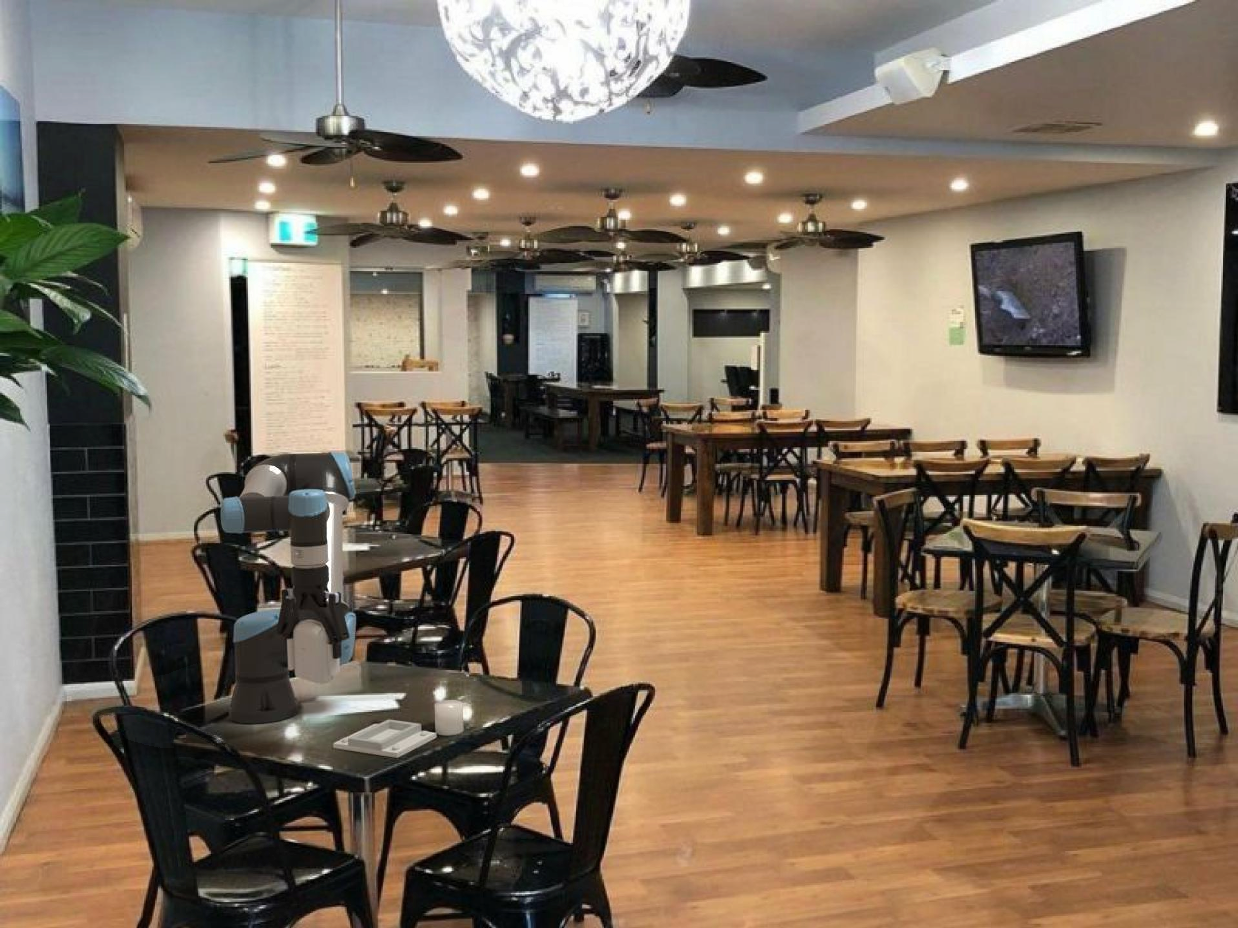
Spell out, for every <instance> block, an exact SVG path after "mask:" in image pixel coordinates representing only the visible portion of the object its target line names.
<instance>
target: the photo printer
mask: <svg viewBox="0 0 1238 928" xmlns="http://www.w3.org/2000/svg"><path fill="white" fill-rule="evenodd" d="M329 642H330V640H329V638H328V635H327V633H326V631H325V628H324V627H323V625H322V623H320V622H318V621H315V620H305V621H300V622H299V623H297V625H296V626H295V627H294V630H293V643H294V668H295V669H294V675H295V677H297V678H299V679H302V680H305V681H309V682H311V683H315V684H319V685H324V684H328V683H331V682H332V681H333V680H334V675H328V651H327V644H329Z"/></svg>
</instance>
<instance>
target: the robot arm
mask: <svg viewBox="0 0 1238 928" xmlns="http://www.w3.org/2000/svg"><path fill="white" fill-rule="evenodd" d="M355 493H356V492H355V486H354V481H353V473H352V466H351V461H350V457H349V456H348V454H347V453H344V452H332V451H328V452H312V453H311V452H310V453H309V452H307V453H282V454H278V455H274V456H271V457H269V458H266V459H264V460H263V461H259V462H258V463H257V464H256V465H254V466H253V467H252V468H250V470H249V472H248V473H247V474H246V476H245V479H244V489H243V490H242V492H241V494H240V495H239V496H233V497H225V498H224V499H223V500H222V501H221V504H220V523H221V528H222V530H223V531H224V532H225V533H226V534H227V533H229V534H232V533H233V534H239V535H240V534H243V533H244V534H245V533H246V534H247V533H264V532H289V536H290V537H289V540H290V563H291V564H292V567H291V568H290V571H291V584H292V585H293V587H287V588H285V589H284V588H283V589H282V590H281V591H280V592H281V593H280V594H281V605H280V608H278V609H277V608H272V609H271V608H270V609H265V610H260V611H255V612H252V613H249V614H246V615H243V616H241V617H240V618H238V619H237V620H236V621H235V622H234V625H233V639H232V642H233V646H234V647H233V649H234V667H235V668H234V670H235V672H234V673H235V685H234V688H233V693H232V697H231V700H230V704H229V706H228V718H229V720H230V721H233V722H236V723H240V724H267V723H273V722H279V721H284V720H286V719H289V718H292V717H294V716H295V715H297V714H298V712H299V701H298V698H297V697H296V695H295V692H294V689H293V686H292V683H291V681H290V680H291V679H290V671H294V670H295V668H294V643H293V630H294V627H295V626H296V625H297V623H299V622H300V621H305V620H315V621H318V622H320V623H322V625H323V627H324V628H325V631H326V633H327V635H328V638H329V640H330V642H329V644H327V651H328V675H333V676H334V675H337V674H340V673H341V668H340V666H341V665H344V664H347V663H349V662H350V660H351V659H352V656H353V652H354V648H355V647H354V646H355V639H356V627H357V616H356V614H355V612H352V611H351V610H350V605H349V604H348V603H347V602H345V601H344V587H343V586H344V585H343V581H344V575H343V573H344V570H343V568H344V565H343V564H344V563H343V561H344V559H343V558H344V557H343V556H344V555H343V552H344V551H343V547H344V546H343V544H344V543H343V541H344V540H343V535H344V533H343V529H344V527H343V526H344V525H343V524H344V523H343V521H344V519H343V512H345V510H347V509H348V507H349V504H350V501H352V500H354V499H355V498H356V495H355Z"/></svg>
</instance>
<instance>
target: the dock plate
mask: <svg viewBox="0 0 1238 928" xmlns="http://www.w3.org/2000/svg"><path fill="white" fill-rule="evenodd" d="M436 738H437V733H436V732H432V731H428V730H422V724H421V723H418V722H411V721H410V722H409V721H402V720H396V719H395V720H394V719H386V720H384V721H382V722H380V723H373V724H371V725H370V726H367V727H365V728H363V729H361V730H358V731H357V732H354V733H352V734H351V735H347V736H346V737H342V738H341V739H340V740H337V741H335V742H333V746H332V747H333V749H337V750H345V751H349V752H350V751H351V752H355V753H356V752H357V753H363V754H369V755H375V756H382V757H390V758H399V757H402V756H404V755H406V754H408V753H409V752H412V751H413V750H416V749H418V748H419V747H421V746H424V745H425V744H427V743H429V742H431V741H432V740H435V739H436Z"/></svg>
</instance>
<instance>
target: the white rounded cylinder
mask: <svg viewBox="0 0 1238 928" xmlns="http://www.w3.org/2000/svg"><path fill="white" fill-rule="evenodd" d="M463 705H464V703H463V701H462V700H459V699H458V700H457V699H446V700H440V701H437V702H435V703H434V726H435V727H434V728H435V731H434V733H436V735H440V736H454V735H460V734H461V733H463V732H464V706H463Z"/></svg>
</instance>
